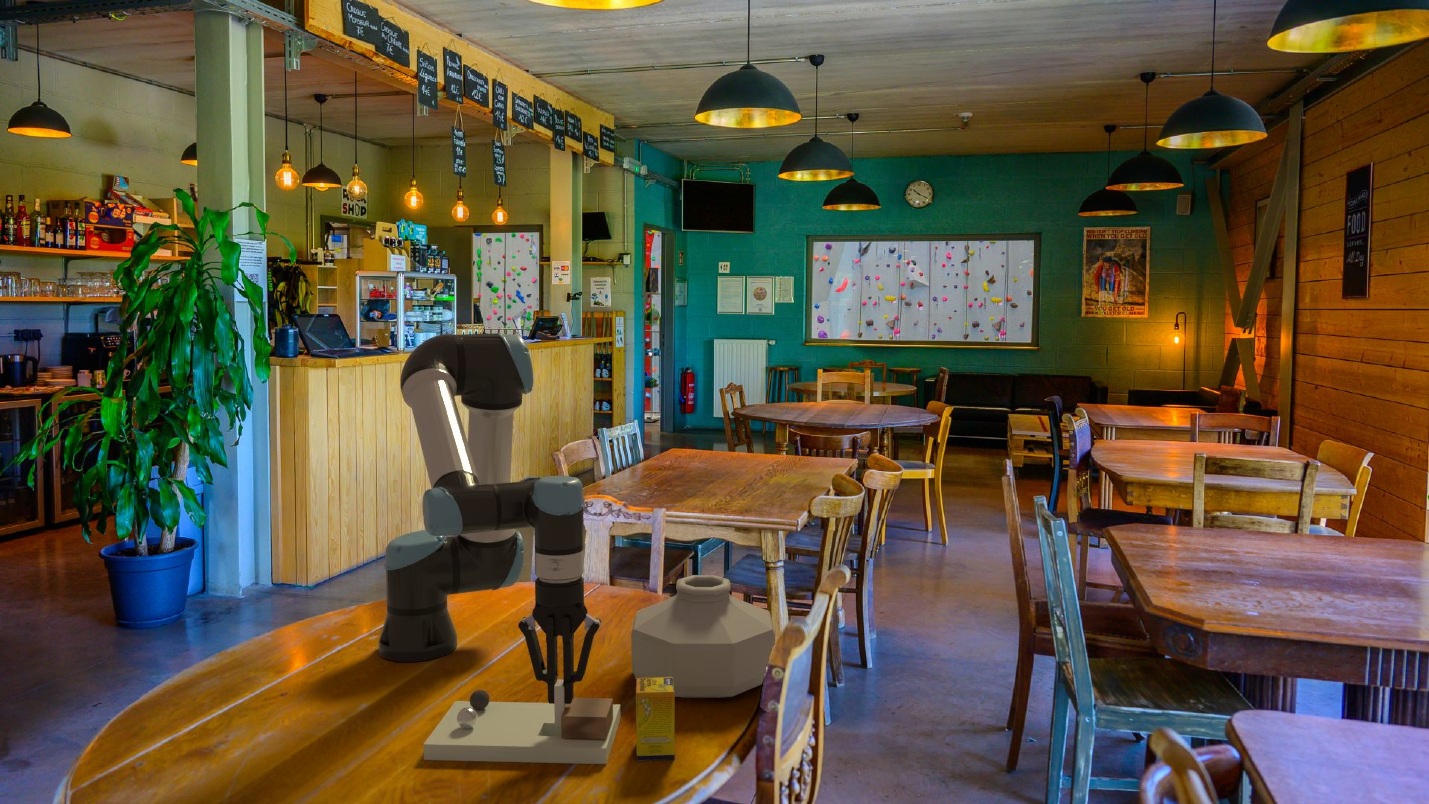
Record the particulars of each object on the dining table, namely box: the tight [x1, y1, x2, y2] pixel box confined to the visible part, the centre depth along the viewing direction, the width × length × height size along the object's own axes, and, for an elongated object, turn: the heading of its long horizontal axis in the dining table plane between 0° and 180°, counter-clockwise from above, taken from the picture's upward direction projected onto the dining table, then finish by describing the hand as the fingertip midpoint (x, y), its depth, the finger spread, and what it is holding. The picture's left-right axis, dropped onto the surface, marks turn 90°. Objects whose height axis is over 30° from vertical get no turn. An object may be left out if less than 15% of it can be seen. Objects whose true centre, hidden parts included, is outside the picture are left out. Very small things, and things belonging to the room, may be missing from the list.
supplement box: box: [635, 677, 676, 762], centre depth 150 cm, size 6×6×11 cm
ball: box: [457, 707, 478, 729], centre depth 152 cm, size 3×3×3 cm
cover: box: [561, 697, 614, 739], centre depth 152 cm, size 7×7×4 cm
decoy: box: [469, 689, 490, 710], centre depth 159 cm, size 3×3×3 cm
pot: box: [630, 574, 776, 699], centre depth 179 cm, size 28×28×19 cm
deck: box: [423, 700, 621, 765], centre depth 154 cm, size 28×16×2 cm, turn 88°
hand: (561, 722), depth 152 cm, fingers closed
